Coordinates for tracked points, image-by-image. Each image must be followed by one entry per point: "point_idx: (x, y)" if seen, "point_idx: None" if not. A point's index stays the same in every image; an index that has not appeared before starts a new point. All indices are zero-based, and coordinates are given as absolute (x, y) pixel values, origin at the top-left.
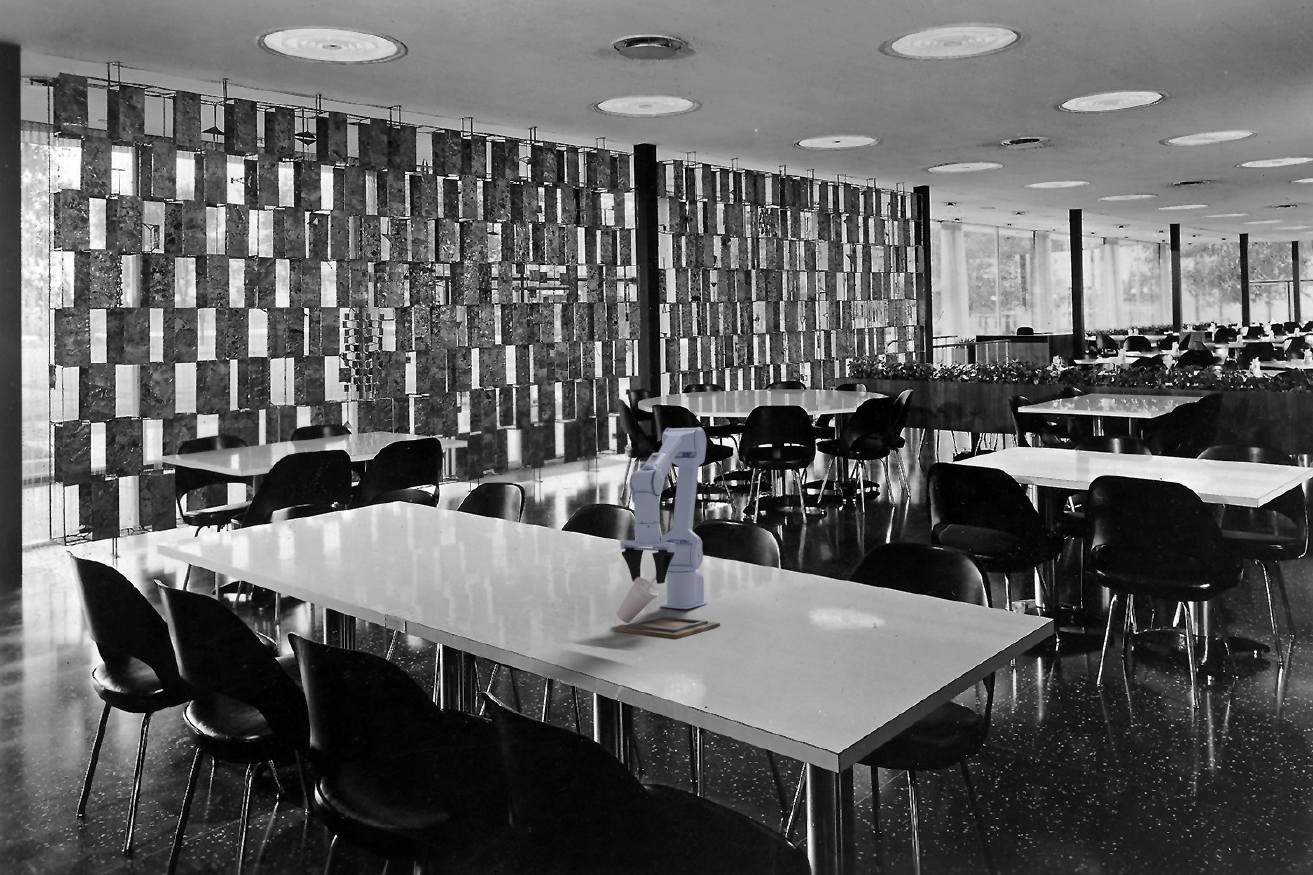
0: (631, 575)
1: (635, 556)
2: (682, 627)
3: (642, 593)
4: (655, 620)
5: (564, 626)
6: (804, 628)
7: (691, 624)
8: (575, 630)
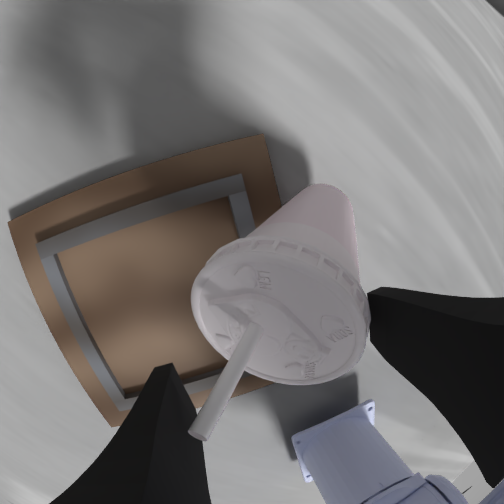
0: (406, 292)
1: (498, 401)
2: (56, 293)
3: (218, 250)
4: None
5: (414, 98)
6: (29, 476)
7: (88, 347)
8: (354, 69)
